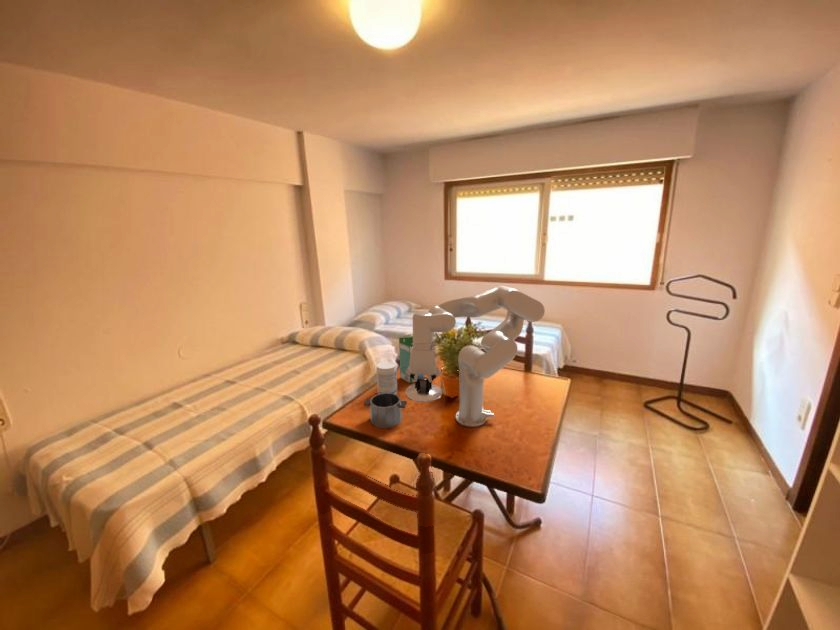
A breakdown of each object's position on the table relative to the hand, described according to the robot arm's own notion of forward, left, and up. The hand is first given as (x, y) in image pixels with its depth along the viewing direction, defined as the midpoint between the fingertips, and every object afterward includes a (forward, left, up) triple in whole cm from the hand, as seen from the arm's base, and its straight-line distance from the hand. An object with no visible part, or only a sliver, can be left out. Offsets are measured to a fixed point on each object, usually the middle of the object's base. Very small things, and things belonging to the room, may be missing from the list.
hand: (423, 389), depth 130 cm
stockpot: (+17, -5, -17) cm, 24 cm away
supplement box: (-8, -30, -17) cm, 36 cm away
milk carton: (+13, -46, -17) cm, 51 cm away
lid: (0, 0, -3) cm, 3 cm away
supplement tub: (+22, -28, -17) cm, 39 cm away
